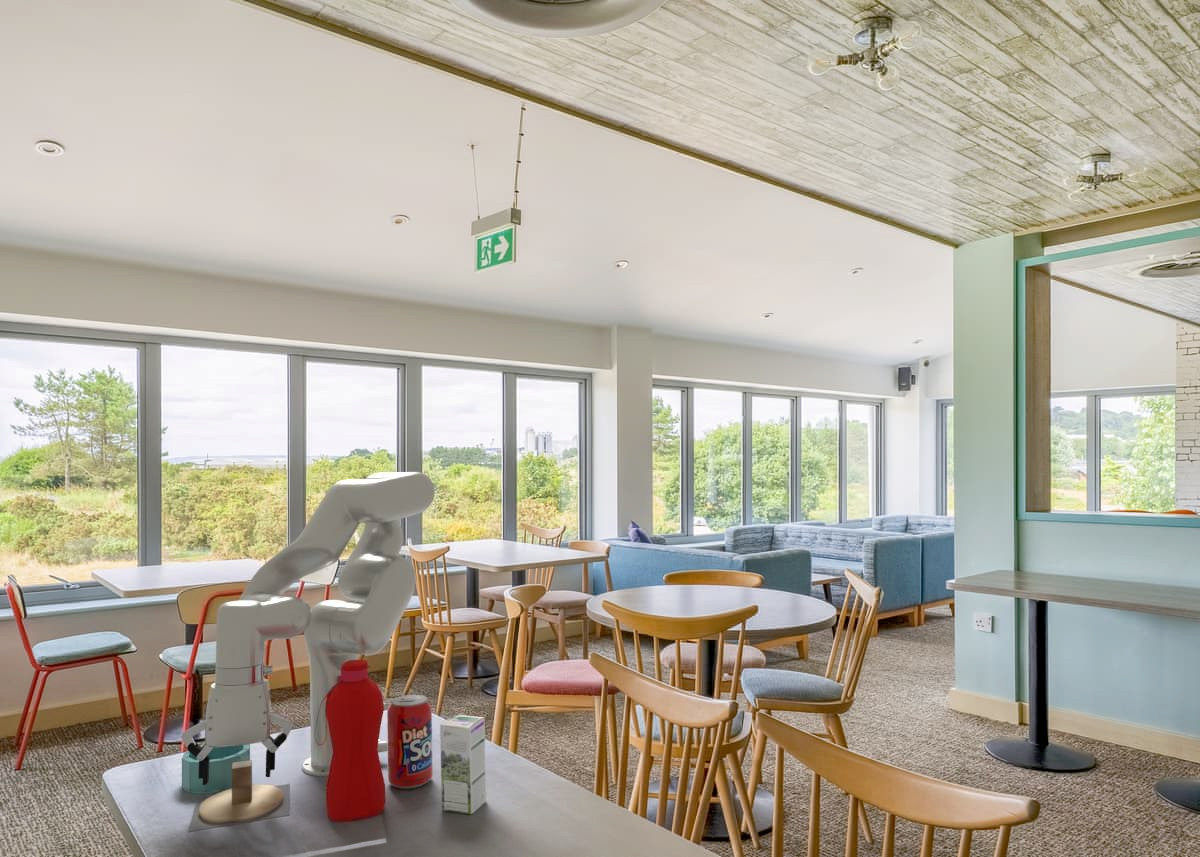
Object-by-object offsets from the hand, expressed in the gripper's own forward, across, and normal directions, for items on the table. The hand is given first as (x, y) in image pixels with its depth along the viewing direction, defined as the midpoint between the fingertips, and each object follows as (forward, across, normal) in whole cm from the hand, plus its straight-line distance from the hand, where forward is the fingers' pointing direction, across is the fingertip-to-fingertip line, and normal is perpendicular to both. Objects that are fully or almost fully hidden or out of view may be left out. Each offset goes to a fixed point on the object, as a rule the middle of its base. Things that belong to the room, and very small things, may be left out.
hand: (237, 778), depth 138 cm
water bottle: (+6, -18, +8) cm, 20 cm away
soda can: (+5, -29, -1) cm, 29 cm away
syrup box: (+5, -36, +13) cm, 39 cm away
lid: (+5, -1, -1) cm, 5 cm away
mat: (+6, -1, -1) cm, 6 cm away
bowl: (+5, +4, -15) cm, 16 cm away
